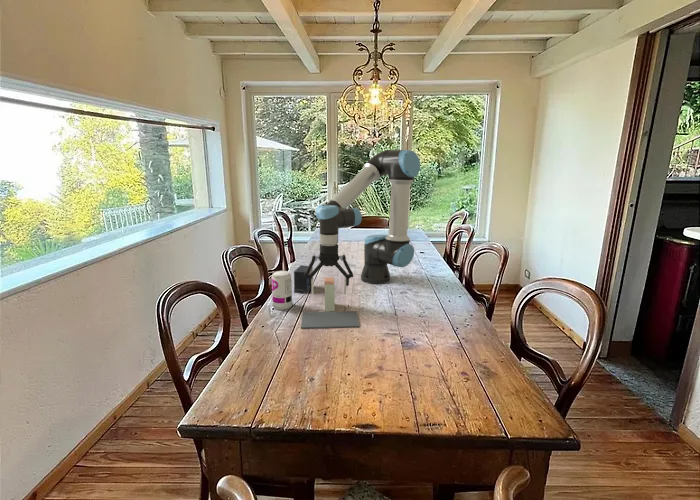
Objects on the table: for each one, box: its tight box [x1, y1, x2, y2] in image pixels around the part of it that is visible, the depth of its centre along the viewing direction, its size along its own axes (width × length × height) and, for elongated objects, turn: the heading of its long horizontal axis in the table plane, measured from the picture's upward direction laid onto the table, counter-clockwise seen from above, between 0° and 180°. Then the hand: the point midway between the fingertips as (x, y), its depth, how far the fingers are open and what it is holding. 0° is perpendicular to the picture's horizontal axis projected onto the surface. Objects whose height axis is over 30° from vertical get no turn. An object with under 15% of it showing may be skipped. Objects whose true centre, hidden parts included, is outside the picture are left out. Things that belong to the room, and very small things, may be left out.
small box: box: [293, 264, 314, 294], centre depth 191 cm, size 11×6×10 cm, turn 168°
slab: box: [324, 277, 336, 312], centre depth 169 cm, size 4×8×12 cm, turn 4°
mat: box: [300, 310, 360, 330], centre depth 158 cm, size 22×14×1 cm, turn 94°
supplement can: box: [271, 270, 293, 311], centre depth 170 cm, size 8×8×15 cm
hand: (328, 293), depth 169 cm, fingers open, 13 cm apart
